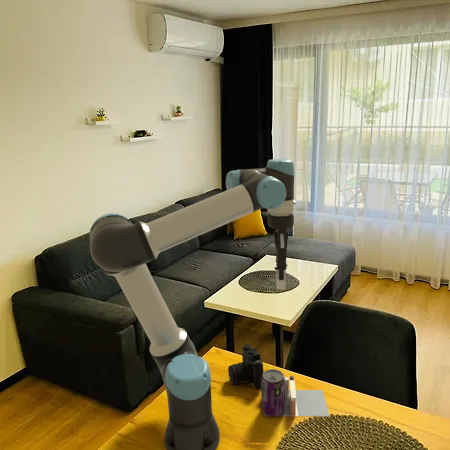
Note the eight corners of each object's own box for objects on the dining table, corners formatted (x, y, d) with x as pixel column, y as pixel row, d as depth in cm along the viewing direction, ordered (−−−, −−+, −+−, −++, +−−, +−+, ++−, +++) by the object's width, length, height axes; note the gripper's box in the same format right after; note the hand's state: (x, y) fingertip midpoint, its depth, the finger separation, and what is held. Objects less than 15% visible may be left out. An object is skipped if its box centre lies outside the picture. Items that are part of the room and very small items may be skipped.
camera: (224, 370, 151) (223, 344, 148) (253, 365, 153) (253, 339, 151) (235, 395, 138) (234, 367, 135) (266, 388, 140) (266, 361, 138)
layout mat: (264, 416, 128) (264, 415, 128) (262, 390, 139) (262, 389, 139) (329, 417, 127) (329, 416, 127) (322, 390, 138) (322, 390, 138)
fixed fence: (264, 396, 136) (264, 378, 134) (264, 393, 138) (264, 375, 136) (293, 396, 136) (294, 378, 134) (293, 393, 137) (293, 375, 135)
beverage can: (284, 419, 126) (284, 383, 123) (260, 417, 127) (259, 381, 124) (286, 403, 132) (286, 369, 129) (263, 401, 134) (262, 367, 131)
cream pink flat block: (289, 396, 135) (289, 380, 134) (294, 397, 135) (294, 380, 133) (290, 415, 127) (290, 397, 126) (296, 415, 127) (296, 397, 125)
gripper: (296, 218, 119) (295, 297, 126) (291, 207, 132) (291, 279, 138) (268, 219, 120) (269, 297, 126) (266, 208, 132) (267, 280, 139)
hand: (280, 288), depth 132 cm, fingers closed
